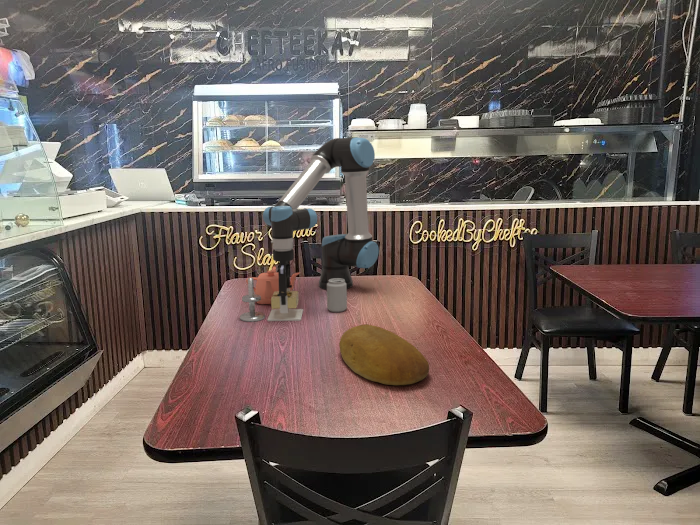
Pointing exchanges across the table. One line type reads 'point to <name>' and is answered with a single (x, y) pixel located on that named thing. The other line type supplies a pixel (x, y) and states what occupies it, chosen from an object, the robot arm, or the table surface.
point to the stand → (251, 305)
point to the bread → (382, 356)
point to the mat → (286, 315)
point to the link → (291, 297)
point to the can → (336, 295)
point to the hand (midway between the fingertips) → (285, 308)
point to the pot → (269, 285)
